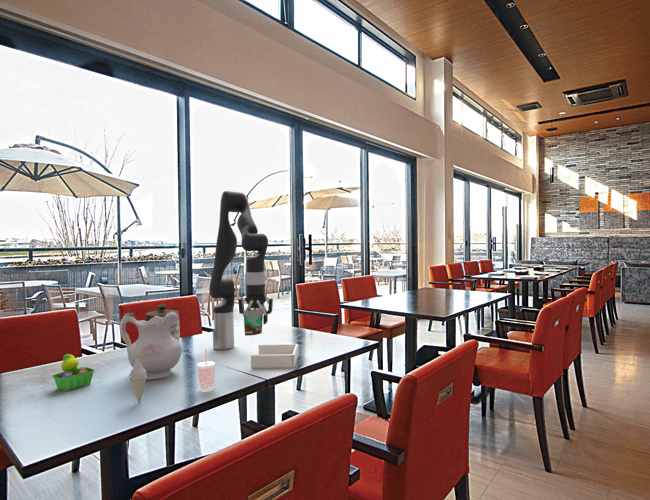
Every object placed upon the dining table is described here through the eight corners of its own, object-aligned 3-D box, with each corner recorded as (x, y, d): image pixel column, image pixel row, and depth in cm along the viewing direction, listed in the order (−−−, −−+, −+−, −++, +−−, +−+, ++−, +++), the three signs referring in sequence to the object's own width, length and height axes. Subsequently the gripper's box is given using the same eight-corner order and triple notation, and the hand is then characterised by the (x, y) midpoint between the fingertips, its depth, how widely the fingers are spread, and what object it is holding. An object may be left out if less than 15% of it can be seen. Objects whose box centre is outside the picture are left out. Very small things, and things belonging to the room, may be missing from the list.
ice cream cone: (133, 400, 136) (132, 354, 136) (150, 399, 137) (148, 354, 137) (128, 406, 131) (126, 359, 131) (144, 406, 132) (143, 358, 132)
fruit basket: (63, 393, 145) (62, 360, 145) (50, 388, 150) (49, 357, 149) (95, 383, 154) (95, 352, 154) (82, 379, 159) (81, 349, 159)
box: (251, 367, 169) (250, 355, 169) (259, 355, 187) (258, 344, 187) (294, 367, 169) (294, 355, 169) (298, 355, 187) (298, 343, 187)
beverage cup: (209, 385, 150) (208, 346, 150) (219, 388, 146) (218, 348, 146) (194, 390, 145) (193, 349, 145) (204, 393, 141) (203, 352, 141)
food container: (257, 337, 165) (257, 311, 164) (243, 336, 166) (242, 311, 166) (269, 330, 177) (268, 306, 176) (255, 329, 178) (255, 305, 178)
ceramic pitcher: (122, 390, 149) (120, 321, 147) (120, 371, 167) (118, 309, 164) (185, 380, 159) (185, 315, 157) (177, 363, 177) (177, 304, 174)
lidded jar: (164, 356, 190) (163, 307, 189) (139, 353, 196) (137, 306, 195) (186, 347, 204) (185, 302, 203) (162, 345, 209) (161, 301, 209)
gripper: (274, 281, 174) (275, 322, 175) (240, 282, 175) (241, 322, 175) (271, 284, 167) (272, 326, 167) (235, 284, 167) (236, 326, 168)
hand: (256, 323), depth 171 cm, fingers closed on food container, 6 cm apart
